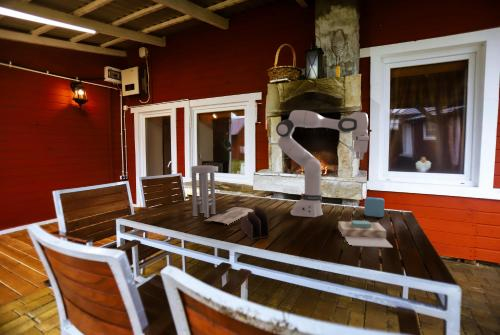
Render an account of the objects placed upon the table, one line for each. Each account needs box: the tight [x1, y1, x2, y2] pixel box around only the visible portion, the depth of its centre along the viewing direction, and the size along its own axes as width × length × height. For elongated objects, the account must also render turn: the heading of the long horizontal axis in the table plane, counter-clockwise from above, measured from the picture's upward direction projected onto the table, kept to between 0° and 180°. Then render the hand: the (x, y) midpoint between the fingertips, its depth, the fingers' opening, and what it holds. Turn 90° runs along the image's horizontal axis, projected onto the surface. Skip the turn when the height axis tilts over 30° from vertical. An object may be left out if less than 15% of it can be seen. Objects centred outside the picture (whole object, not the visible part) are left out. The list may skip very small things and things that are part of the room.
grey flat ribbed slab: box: [203, 206, 254, 226], centre depth 184 cm, size 37×19×3 cm, turn 153°
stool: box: [190, 164, 216, 219], centre depth 187 cm, size 16×16×35 cm
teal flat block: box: [350, 219, 371, 228], centre depth 149 cm, size 9×6×2 cm, turn 80°
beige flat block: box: [337, 220, 387, 239], centre depth 149 cm, size 22×14×4 cm, turn 80°
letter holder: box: [240, 205, 270, 240], centre depth 151 cm, size 10×20×14 cm, turn 20°
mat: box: [344, 236, 394, 249], centre depth 135 cm, size 20×12×1 cm, turn 80°
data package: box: [363, 196, 385, 218], centre depth 182 cm, size 12×4×12 cm, turn 63°
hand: (359, 159), depth 172 cm, fingers open, 8 cm apart
